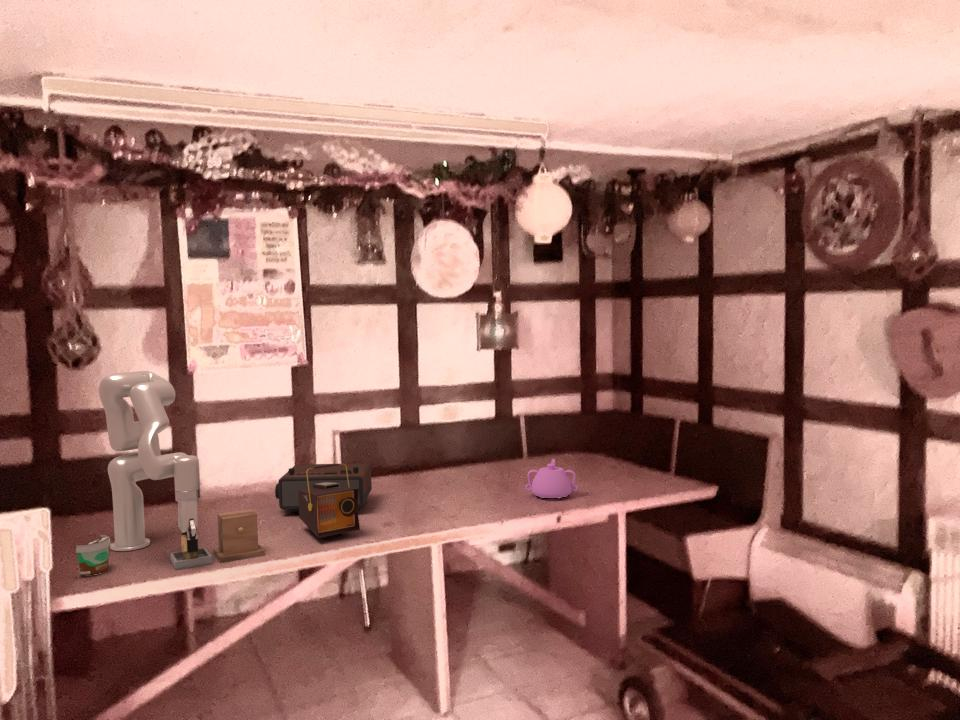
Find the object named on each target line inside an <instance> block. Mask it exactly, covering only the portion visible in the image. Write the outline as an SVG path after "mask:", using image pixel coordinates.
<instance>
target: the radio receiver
mask: <svg viewBox="0 0 960 720" xmlns="http://www.w3.org/2000/svg"><path fill="white" fill-rule="evenodd" d="M333 464H334V463H315V464H314V463H313V464H311V463H308V464H306V463H305V464H295V465H293V466H292V467H291V468H288V471H287V472H285V474H284V475H282V476H281V477H280V478H279V479H278V482H277V483H276V485H275V489H274V495H275V499H278V506H279V508H280V509H281V510H283V511H284V510H287V511H288V512H289V513H294V512H298V513H299V495H298V490H303V489H308V483H307V475H306V472H307V470H308V469H309V470H308V472H307V474H308V482H309V488H313V484H317V483H323V482H331V483H340V487H347V488H348V481H347V473H348V480H349V487H350V488H359V492H358V509H357V510H358V511H359V510H360V509H361V508H363V506H364V505H365V503H366V500H368V499H367V498H368V496H369V495H370V494H371V491H372V489H373V488H372V466H371V464H370V463H368V462H355V463H353V462H351V463H339V464H340V465H336V466H329V467H323V468H316V469H314V467H320V466H327V465H333ZM343 464H345V465H346V466H347V473H346V467H345V465H343ZM310 468H313V469H310Z"/></svg>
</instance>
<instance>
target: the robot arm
mask: <svg viewBox="0 0 960 720" xmlns="http://www.w3.org/2000/svg"><path fill="white" fill-rule="evenodd" d="M98 395H99V398H100V399H99V400H100V401H101V404H102V405H101V406H103V409H104V413H105V418H106V419H105V420H106V428H107V435H108V441H109V445H110V447H111V449H112V451H114V452H126V451H133V450H137V452H136V453H129V454H128V453H127V454H124V455H118V456H117V457H114V458H113V459H112V460H110V461H109V463H108V465H107V473H108V478H109V482H110V487H111V494H112V508H113V509H112V510H113V529H114V541H113V542H111V545H110V546H109V550H111V551H114V552H128V551H129V552H130V551H135V550H139V549H140V550H141V549H143V548H146V547H148V546H149V545H151V539H149V538H147V537H146V532H145V531H146V529H145V510H144V508H145V507H144V495H143V492H142V489H141V488H140V487H139V486H138V484H137V483H136V482H140V481H143V480H148V479H150V480H152V481H157V480H158V481H159V480H164V479H168V478H174V497H175V502H177V503H178V504H177V525H178V526H177V527H178V529H179V530H180V531H181V536H182V535H184V534H187V538H188V540H187V552H188V553H190V552H197V551H198V548H199V539H197V535H198V532H197V531H199V510H198V501H199V500H200V499H201V481H200V480H201V479H200V460H199V458H198V457H197V456H196V455H194V454H193V455H190V454H189V455H188V454H186V453H185V452H180V451H179V452H173V453H166V454H162V453H161V446H160V440H159V439H160V438H159V434H160V433H162V432H163V431H165V430H166V429H167V428H168V426H169V425H170V419H169V417H168V415H167V412H166V410H165V407H164V406H169V405H171V404H173V403H174V402H175V399H176V390H175V387H174V386H173V384H172V383H170V381H168V380H167V379H166V378H164V377H162V376H160V375H158V374H156V373H155V372H152V371H149V370H148V371H147V370H140V371H125V372H117V373H116V372H115V373H112V374H108V375H106V376H104V377H103V378H101V380H100V382H99V387H98ZM125 398H129V399H130V401H131V404H132V406H133V407H132V406H131V405H130V404H129V402H128V401H127V400H126V399H125ZM133 408H134V411H135V414H136V416H137V419H138V420H137V421H135V419H134V411H133ZM189 533H190V534H189ZM189 535H190V536H189Z"/></svg>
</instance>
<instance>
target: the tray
mask: <svg viewBox="0 0 960 720" xmlns="http://www.w3.org/2000/svg"><path fill="white" fill-rule="evenodd" d="M198 551H199V558H193V559H187V560H182V550H180V551H173V552H170V553H169V561H170V563H171V565H172V566H173V569H174V571H179V570H184V569H190V568H195V567H201V566H207V564H208V565H212V564H213V555H212V554H211V553H210V552H209V550H208V549H207V547H198Z"/></svg>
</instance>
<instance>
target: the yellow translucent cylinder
mask: <svg viewBox="0 0 960 720" xmlns="http://www.w3.org/2000/svg"><path fill="white" fill-rule="evenodd" d="M189 534H190V533H189ZM189 536H190V535H189ZM198 538H199V537H198V534H197V539H198ZM187 540H188V538H187V534H184V535H182V534H181V536H180V544H181V551H182V560H187V559H193V558H199V551H197V552H190V553H188V552H187ZM198 540H199V539H198Z"/></svg>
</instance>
